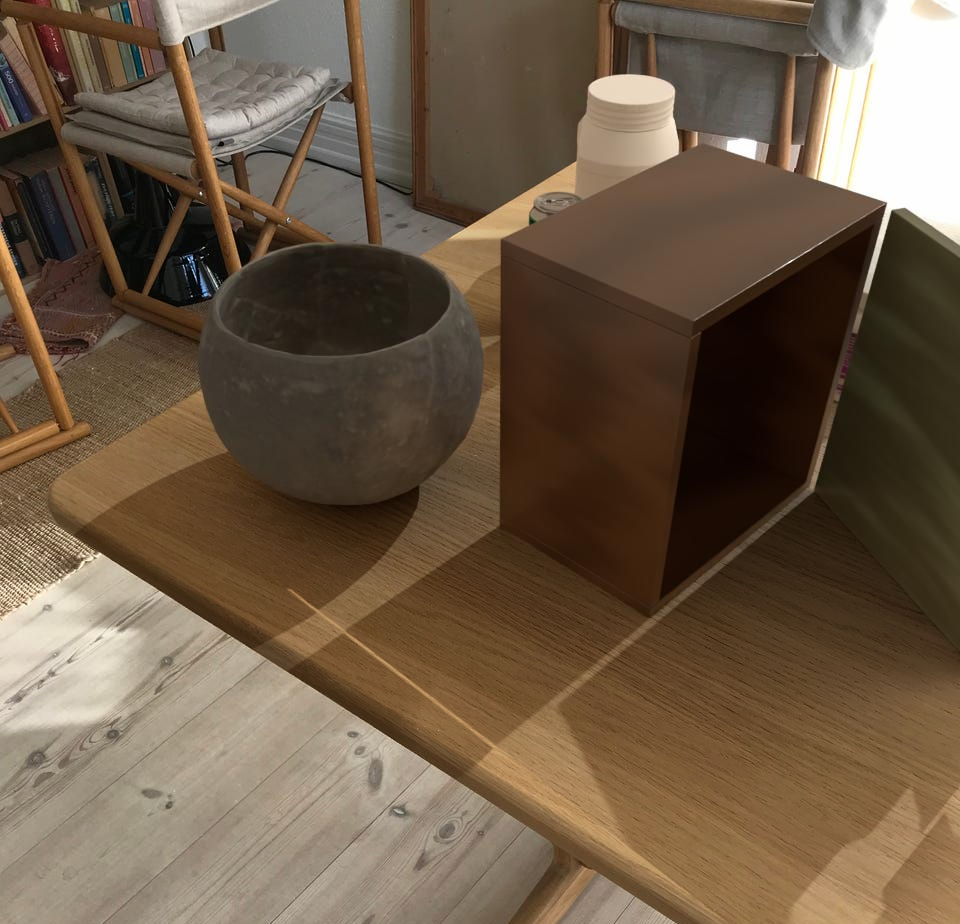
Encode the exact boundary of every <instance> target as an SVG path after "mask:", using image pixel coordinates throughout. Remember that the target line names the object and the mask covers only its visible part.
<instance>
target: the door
mask: <svg viewBox="0 0 960 924" xmlns="http://www.w3.org/2000/svg"><path fill="white" fill-rule="evenodd" d="M873 273H874V275H873V279H872V282H871V286H870V290H869V293H868V297H867V300H866V304H865V308H864V311H863V315H862V318H861V322H860V326H859V329H858V333H857V336H856V340H855V344H854V347H853V351H852V355H851V358H850V362H849V365H848V369H847V373H846V376H845V380H844V383H843V387H842V391H841V394H840V398H839V401H838V402H837V406H836V408H835V413H834V416H833V420H832V423H831V427H830V431H829V434H828V438H827V441H826V445H825V449H824V453H823V456H822V459H821V462H820V467H819V470H818V473H817V478H816V482H815V484H814V488H813V493H815V494H816V495H817V496H818V498H819V499H820V500H821V501H822V502H823V503H824V504H825V506H826V507H828V509H829V510H830V511H831V512H832V513H833V514H834V515H835V517H836V518H837V519H838V520H839V521H840V522H841V523H842V524H843V525H844V527H846V529H847V530H848V531H849V532H850V533H851V534H852V535H853V537H855V539H856V540H857V541H858V542H859V543H860V544H861V545H862V546H863V547H864V548H865V550H866V551H867V552H868V553H869V554H870V555H871V556H872V557H873V559H874V560H875V561H876V562H877V563H878V564H879V565H880V567H882V568H883V570H884V571H885V572H886V573H887V574H888V575H889V576H890V577H891V578H892V579H893V580H894V581H895V583H896V584H897V585H898V586H899V587H900V588H901V589H902V591H904V593H905V594H906V595H907V596H908V597H909V598H910V600H911V601H912V602H913V603H914V604H915V605H916V606H917V607H918V608H919V610H921V611H922V612H923V614H924V615H925V616H926V617H927V618H928V619H929V620H930V622H932V624H933V625H934V626H935V627H936V628H937V629H938V630H939V631H940V633H941V634H942V635H943V636H944V637H945V638H946V639H947V640H948V641H949V642H950V643H951V645H953V647H954V648H955V649H956V650H957V651H958V652H959V653H960V244H958V243H957V242H956V241H954V240H952V239H951V238H950V237H949V236H947V235H946V234H944V233H943V232H941V231H940V230H938V228H935V227H934V226H933V225H931V224H930V223H929V222H927V221H926V220H924V219H922V218H921V217H919V216H918V215H917V214H916V213H913V212H912V211H911V210H909V209H908V208H906V207H901V208H900V207H899V208H895V209H891V211H890V214H889V217H888V221H887V225H886V228H885V231H884V236H883V239H882V242H881V247H880V250H879V253H878V258H877V261H876V264H875V268H874V271H873Z"/></svg>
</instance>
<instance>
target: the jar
mask: <svg viewBox="0 0 960 924" xmlns="http://www.w3.org/2000/svg"><path fill="white" fill-rule="evenodd" d="M586 96H587V100H586V105H587V106H586V111H585V114H584V116H583V117H582V118H581V119H580V120H579V122H578V123H577V130H576V131H577V134H576V162H575V163H576V164H575V183H574V194H576V195H578V196H580V197H581V198H582V199H583V200H584V199H586V198H588V197H590V196H592V195H594V194H596V193H598V192H600V191H602V190H605V189H607V188H609V187H611V186H613V185H615V184H617V183H619V182H621V181H623V180H626V179H628V178H630V177H632V176H634V175H636V174H638V173H640V172H642V171H644V170H647V169H649V168H651V167H653V166H655V165H657V164H659V163H661V162H663V161H665V160H668V159H670V158H672V157H674V156H676V155H678V154H680V152H679V151H680V140H679V137H678V132H677V131H678V130H677V126H676V121H675V118H674V107H675V106H674V104H675V96H676V89H675V87H674V86H673V84H671V83H670V82H669V81H666V80H664V79H661V78H659V77H655V76H650V75H644V74H630V73H629V74H628V73H627V74H613V75H607V76H603V77H601V78H598V79H596V80H594V81H593V82H591V83H590V84H589V85H588V87H587V95H586Z"/></svg>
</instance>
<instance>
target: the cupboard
mask: <svg viewBox="0 0 960 924" xmlns="http://www.w3.org/2000/svg"><path fill="white" fill-rule="evenodd" d="M887 207H888V202H887V201H884V200H881V199H877V198H874V197H871V196H869V195H866V194H862V193H859V192H857V191H852V190H849V189H846V188H844V187H841V186H837V185H835V184H831V183H828V182H826V181H822V180H818V179H815V178H813V177H810V176H806V175H803V174H800V173H798V172H794V171H791V170H789V169H785V168H781V167H778V166H775V165H772V164H769V163H766V162H763V161H760V160H757V159H753V158H751V157H748V156H744V155H741V154H738V153H735V152H732V151H728V150H726V149H724V148H719V147H717V146H713V145H711V144H708V143H704V142H702V143H699V144H697V145H695V146H693V147H691V148H689V149H687V150H685V151H683V152H679V154H678V155H676V156H674V157H672V158H670V159H668V160H665V161H663V162H661V163H659V164H657V165H655V166H653V167H651V168H649V169H647V170H644V171H642V172H640V173H638V174H636V175H634V176H632V177H630V178H628V179H626V180H623V181H621V182H619V183H617V184H615V185H613V186H611V187H609V188H607V189H605V190H602V191H600V192H598V193H596V194H594V195H592V196H590V197H588V198H586V199H584V200H581V201H579V202H577V203H575V204H573V205H571V206H569V207H567V208H565V209H563V210H560V211H558V212H556V213H554V214H552V215H550V216H548V217H546V218H544V219H542V220H539V221H537V222H535V223H533V224H531V225H529V224H528V225H527V226H525V227H523V228H521V229H519V230H516V231H514V232H512V233H510V234H507V235H506V236H504V237H502V238H500V290H499V291H500V293H499V294H500V298H499V299H500V300H499V301H500V306H499V307H500V308H499V309H500V310H499V311H500V313H499V314H500V315H499V319H500V320H499V321H500V323H499V328H500V329H499V334H500V335H499V343H500V344H499V360H500V361H499V367H500V368H499V527H501V529H504V530H505V531H507V532H508V533H510V534H512V535H513V536H515V537H517V538H518V539H520V540H522V541H523V542H524V543H526V544H528V545H530V546H532V547H533V548H534V549H536V550H537V551H539V552H541V553H542V554H544V555H546V556H547V557H549V558H551V560H554V561H555V562H557V563H558V564H560V565H561V566H564V567H565V568H566V569H568V570H569V571H572V572H573V573H574V574H577V575H578V576H580V577H581V578H583V579H585V580H586V581H588V582H589V583H591V584H593V585H594V586H596V587H597V588H599V589H601V590H602V591H604V592H606V593H607V594H609V595H611V596H612V597H614V598H615V599H617V600H619V601H620V602H621V603H623V604H625V605H627V606H629V607H630V608H632V610H635V611H636V612H638V613H639V614H641V615H643V616H645V617H646V618H651V617H652V616H653V615H655V614H656V613H657V612H658V611H660V610H661V609H662V608H664V606H665V605H667V604H668V603H669V602H671V601H672V600H673V599H674V598H675V597H677V596H678V595H679V594H680V593H682V592H683V591H684V590H685V589H687V588H688V587H689V586H690V585H691V584H692V583H694V582H695V581H696V580H697V579H699V578H700V577H701V576H702V575H703V574H705V573H706V572H707V571H709V570H710V569H711V568H712V567H713V566H714V565H716V564H717V563H718V562H720V561H721V560H722V559H723V558H725V556H727V555H728V554H730V552H732V551H733V550H734V549H736V548H737V547H738V546H739V545H740V544H741V543H743V542H744V541H745V540H746V539H748V538H749V537H751V535H752V534H754V533H755V532H756V531H757V530H759V529H760V528H761V527H762V526H764V525H765V524H766V523H767V522H768V521H769V520H771V519H772V518H774V517H775V516H776V515H777V514H778V513H780V512H781V511H782V510H783V509H784V508H785V507H787V506H788V505H789V504H791V503H792V502H793V501H794V500H795V499H797V498H798V497H799V496H800V495H801V494H803V493H804V492H805V491H806V490H808V489H809V488H810V486H811V483H812V480H813V477H814V473H815V470H816V465H817V462H818V459H819V455H820V451H821V448H822V444H823V440H824V436H825V432H826V429H827V425H828V422H829V418H830V415H831V412H832V411H831V410H832V407H833V404H834V396H835V393H836V389H837V385H838V382H839V378H840V374H841V371H842V367H843V363H844V360H845V356H846V352H847V349H848V345H849V341H850V338H851V334H852V330H853V327H854V323H855V319H856V316H857V312H858V308H859V305H860V301H861V297H862V294H863V290H864V286H865V283H866V279H867V275H868V273H870V272H869V271H870V268H871V264H872V260H873V257H874V252H875V249H876V245H877V242H878V238H879V235H880V231H881V227H882V224H883V220H884V217H885V213H886V209H887Z"/></svg>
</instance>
